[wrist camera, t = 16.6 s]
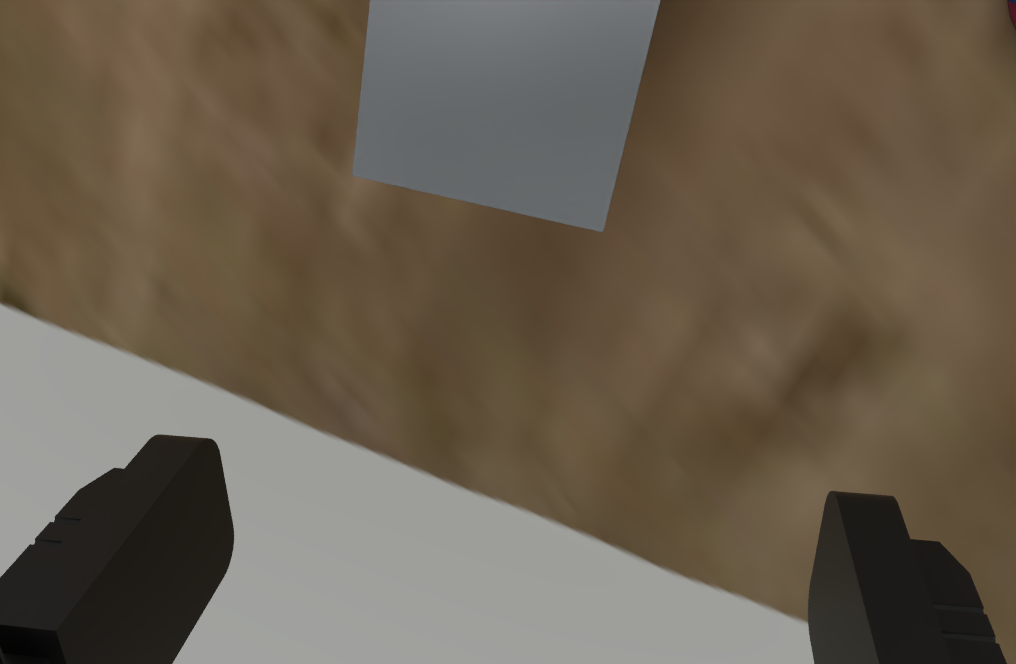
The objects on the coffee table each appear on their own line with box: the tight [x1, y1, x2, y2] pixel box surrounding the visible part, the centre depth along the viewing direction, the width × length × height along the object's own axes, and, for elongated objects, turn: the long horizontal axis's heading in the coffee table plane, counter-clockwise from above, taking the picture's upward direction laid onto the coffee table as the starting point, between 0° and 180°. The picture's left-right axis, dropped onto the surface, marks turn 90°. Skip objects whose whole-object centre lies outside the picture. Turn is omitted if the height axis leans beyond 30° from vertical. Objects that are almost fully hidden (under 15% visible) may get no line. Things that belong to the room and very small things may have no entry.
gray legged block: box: [352, 0, 660, 232], centre depth 29 cm, size 6×6×16 cm
